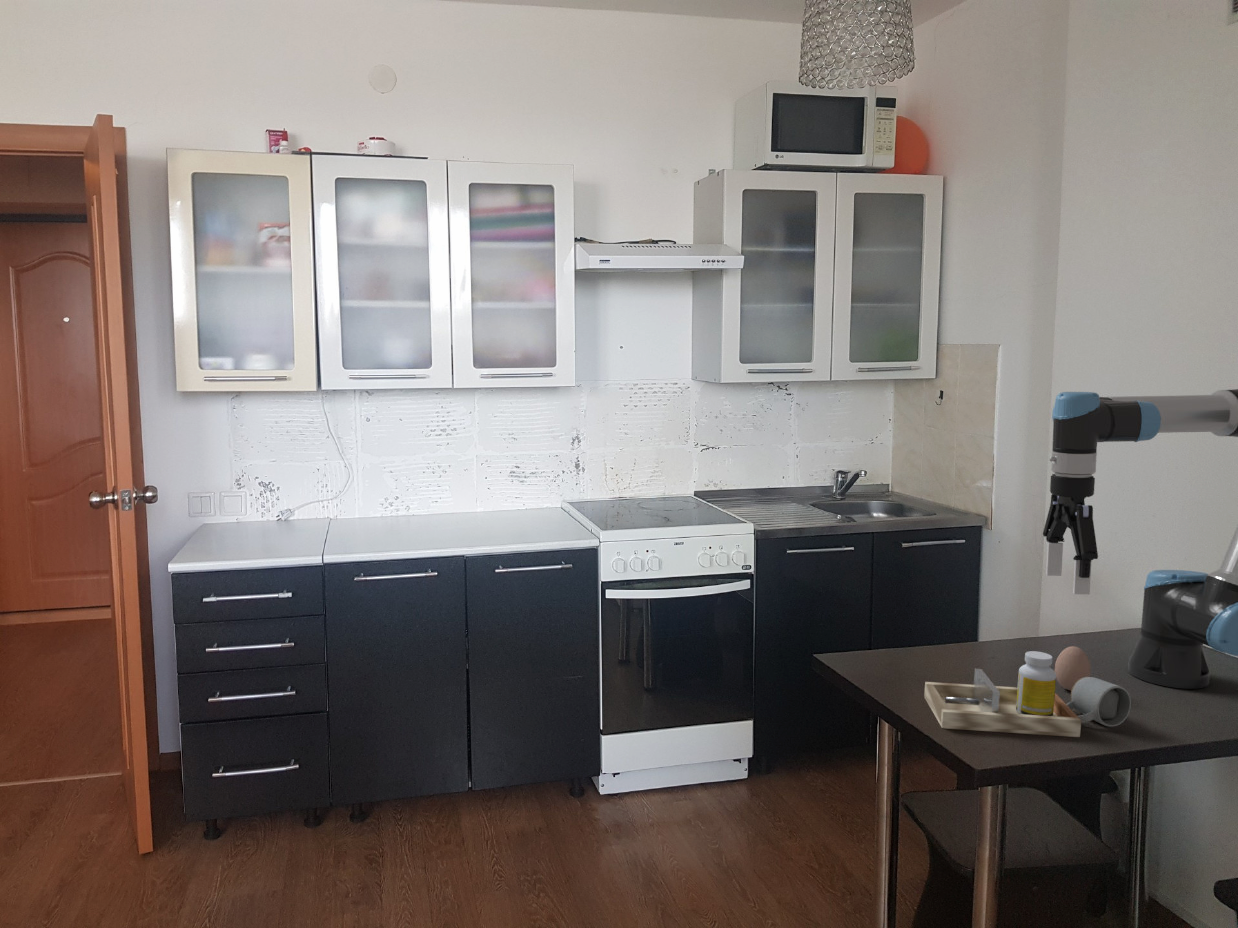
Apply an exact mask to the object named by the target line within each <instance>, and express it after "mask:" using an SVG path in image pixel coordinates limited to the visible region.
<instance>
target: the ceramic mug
mask: <svg viewBox="0 0 1238 928" xmlns="http://www.w3.org/2000/svg"><path fill="white" fill-rule="evenodd" d="M1065 704H1066V705H1067V706H1068V707H1069V708H1070V709H1071V710H1072V711H1073V709H1075V710H1077V711H1078V712H1079V713H1080V714H1081V715H1080V714H1079V715H1077V716H1078V717H1079V719H1080V720H1081V724H1086V723H1089V722H1091V721H1096V722H1097V723H1099V724H1101V725H1103V726H1105V727H1110V728H1113V727H1114V728H1115V727H1118V726H1120V725H1122V724H1123V723H1124V722H1125V721H1126V719H1127V718H1128V716H1129V714H1130V711H1131V707H1132V699H1131V695H1130V693H1129V692H1128V690H1127V689H1126V688H1124V687H1123V686H1120V685H1118V684H1114V683H1111V682H1109V681H1106V680H1103V679H1100V678H1097V677H1093V676H1090V677H1083V678H1081V679H1079V680H1078V681H1077V682H1076V683H1075V684H1074V686H1073V687H1072V690H1071V691H1070V701H1069V702H1067V703H1065Z"/></svg>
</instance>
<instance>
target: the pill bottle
mask: <svg viewBox="0 0 1238 928" xmlns="http://www.w3.org/2000/svg"><path fill="white" fill-rule="evenodd" d="M1024 662H1025V664H1023V665H1021V666H1020V667H1019V669H1018V674H1017V675H1018V678H1017V701H1016V711H1017V713H1018V714H1024V715H1040V716H1053V710H1054V699H1055V693H1056V686H1057V678H1056V673H1055V669H1053V668H1051V666H1052V664H1053V656H1052V655H1051V654H1049V653H1046V652H1043V651H1035V650H1032V651H1026V652H1025V654H1024Z"/></svg>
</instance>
